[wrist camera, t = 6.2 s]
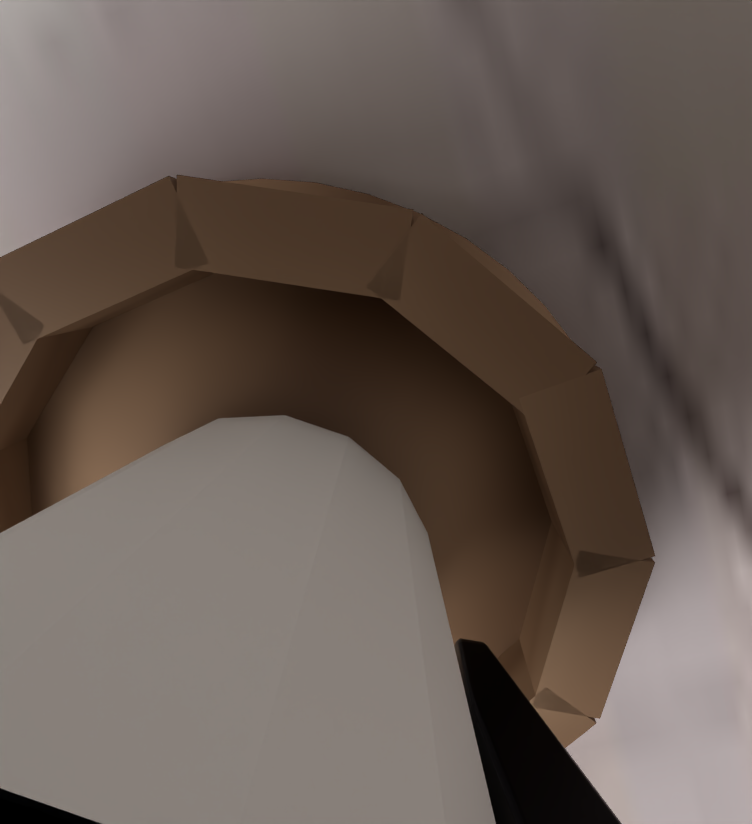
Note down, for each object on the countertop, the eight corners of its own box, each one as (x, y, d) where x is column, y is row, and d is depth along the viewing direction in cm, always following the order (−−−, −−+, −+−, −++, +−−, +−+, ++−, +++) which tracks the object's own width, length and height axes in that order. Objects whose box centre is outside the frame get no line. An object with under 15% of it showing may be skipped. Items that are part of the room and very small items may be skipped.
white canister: (92, 686, 10) (-515, 1502, 4) (75, 348, 8) (-1452, 765, 1) (434, 740, 10) (477, 1712, 3) (504, 408, 8) (985, 1200, 1)
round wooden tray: (700, 244, 9) (793, 240, 7) (526, 796, 13) (549, 905, 10) (-42, 135, 9) (-181, 97, 7) (10, 708, 13) (-69, 797, 11)
